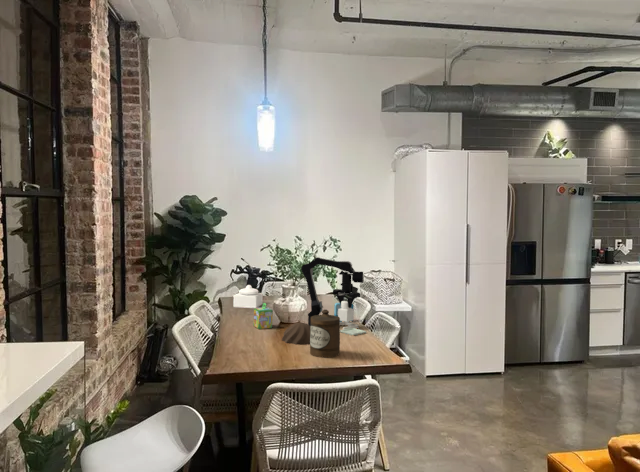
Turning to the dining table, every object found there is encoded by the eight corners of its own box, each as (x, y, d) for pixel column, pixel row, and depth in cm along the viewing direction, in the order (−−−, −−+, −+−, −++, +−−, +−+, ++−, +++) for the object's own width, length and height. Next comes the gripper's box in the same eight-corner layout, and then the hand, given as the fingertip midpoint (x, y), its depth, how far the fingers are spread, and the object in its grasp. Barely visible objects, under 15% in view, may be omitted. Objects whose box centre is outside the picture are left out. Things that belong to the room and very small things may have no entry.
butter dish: (256, 308, 362) (256, 287, 361) (232, 307, 365) (233, 286, 364) (262, 304, 379) (263, 284, 378) (240, 303, 382) (240, 283, 381)
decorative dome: (309, 335, 284) (309, 317, 283) (322, 343, 265) (323, 325, 265) (277, 337, 276) (277, 319, 276) (289, 346, 258) (289, 327, 257)
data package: (335, 322, 319) (335, 303, 319) (333, 320, 324) (334, 302, 323) (353, 321, 321) (353, 303, 321) (351, 320, 326) (352, 302, 325)
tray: (353, 335, 282) (353, 333, 282) (340, 332, 291) (340, 330, 291) (366, 333, 290) (366, 331, 290) (353, 329, 298) (353, 327, 298)
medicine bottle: (344, 318, 306) (344, 299, 306) (353, 320, 302) (354, 300, 301) (337, 320, 301) (338, 300, 300) (347, 322, 296) (347, 302, 296)
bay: (343, 331, 294) (343, 327, 294) (329, 327, 304) (329, 323, 304) (359, 328, 303) (359, 325, 303) (344, 324, 312) (344, 321, 312)
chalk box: (253, 326, 302) (253, 302, 301) (267, 325, 306) (267, 301, 305) (258, 329, 293) (258, 305, 293) (272, 328, 298) (273, 304, 297)
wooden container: (303, 353, 245) (304, 309, 244) (324, 347, 255) (325, 306, 254) (324, 359, 234) (325, 313, 233) (345, 354, 245) (346, 310, 244)
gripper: (366, 282, 299) (366, 308, 299) (345, 279, 313) (344, 303, 313) (354, 284, 291) (353, 310, 292) (332, 280, 305) (332, 305, 306)
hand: (346, 307), depth 301 cm, fingers closed on medicine bottle, 6 cm apart
